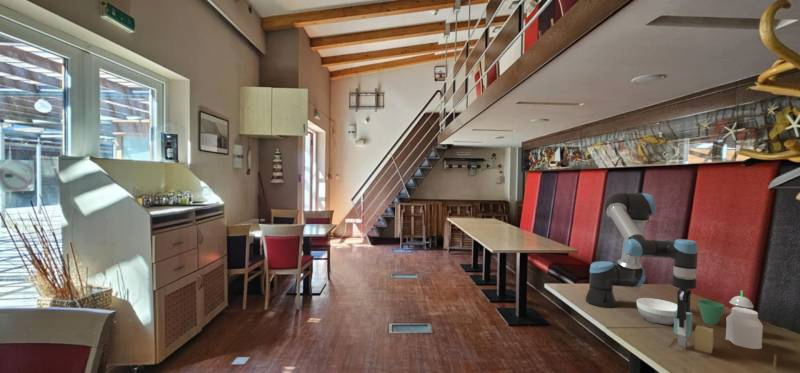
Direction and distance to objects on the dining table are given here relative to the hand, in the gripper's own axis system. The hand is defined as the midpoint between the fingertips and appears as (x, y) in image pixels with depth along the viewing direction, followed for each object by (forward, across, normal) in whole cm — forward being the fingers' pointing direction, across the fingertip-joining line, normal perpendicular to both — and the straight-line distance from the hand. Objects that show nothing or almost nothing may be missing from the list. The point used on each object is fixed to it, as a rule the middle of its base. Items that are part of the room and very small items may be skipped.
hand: (683, 332), depth 151 cm
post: (+6, 0, 0) cm, 6 cm away
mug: (+7, +49, -3) cm, 50 cm away
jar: (+7, +26, -17) cm, 32 cm away
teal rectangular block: (0, 0, 0) cm, 0 cm away
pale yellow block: (+6, +5, -6) cm, 10 cm away
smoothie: (+7, +42, -15) cm, 45 cm away
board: (+7, +2, -2) cm, 8 cm away
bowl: (+7, +29, +14) cm, 33 cm away
